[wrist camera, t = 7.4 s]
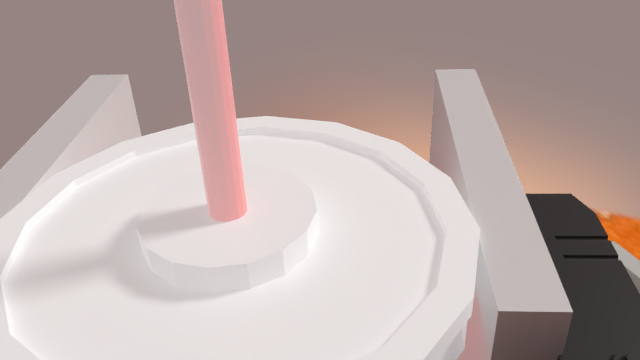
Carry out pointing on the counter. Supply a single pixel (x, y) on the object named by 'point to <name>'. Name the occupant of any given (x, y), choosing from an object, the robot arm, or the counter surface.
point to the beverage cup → (239, 240)
